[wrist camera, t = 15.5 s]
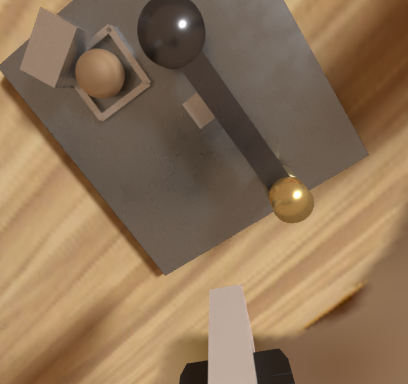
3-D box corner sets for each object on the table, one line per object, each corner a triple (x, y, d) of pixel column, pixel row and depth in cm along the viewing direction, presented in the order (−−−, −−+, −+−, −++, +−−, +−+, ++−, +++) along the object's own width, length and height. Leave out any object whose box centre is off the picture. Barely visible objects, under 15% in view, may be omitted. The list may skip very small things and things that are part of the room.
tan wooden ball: (105, 106, 30) (88, 109, 27) (77, 69, 30) (56, 66, 26) (138, 81, 30) (126, 80, 26) (111, 41, 29) (94, 34, 25)
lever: (263, 206, 32) (274, 238, 25) (137, 37, 28) (111, 20, 21) (308, 177, 30) (332, 201, 24) (183, -5, 26) (172, -35, 20)
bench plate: (168, 266, 38) (158, 298, 32) (10, 68, 32) (-36, 63, 26) (360, 150, 33) (390, 164, 27) (215, -110, 27) (214, -163, 21)
